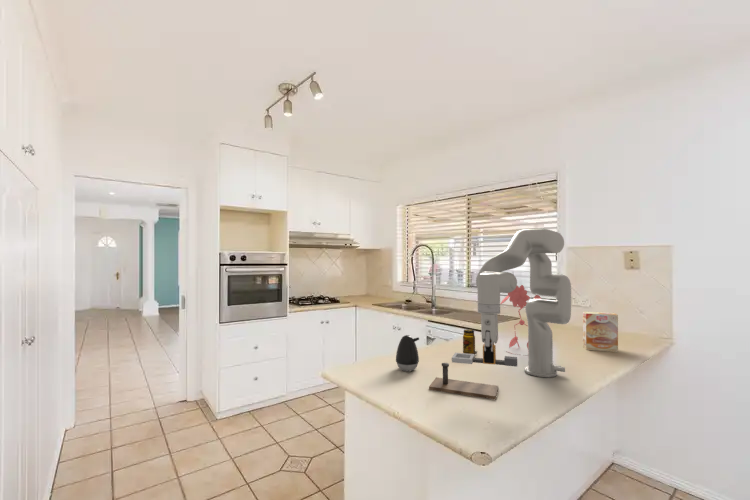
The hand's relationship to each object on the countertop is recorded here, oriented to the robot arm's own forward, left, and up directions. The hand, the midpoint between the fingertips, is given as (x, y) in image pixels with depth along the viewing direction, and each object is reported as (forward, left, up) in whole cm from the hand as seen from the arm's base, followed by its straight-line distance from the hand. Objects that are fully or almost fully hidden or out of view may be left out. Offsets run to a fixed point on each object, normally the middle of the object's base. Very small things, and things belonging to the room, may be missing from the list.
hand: (489, 360), depth 126 cm
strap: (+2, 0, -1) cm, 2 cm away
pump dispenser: (+37, -21, -14) cm, 45 cm away
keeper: (+10, -7, -14) cm, 19 cm away
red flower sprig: (-7, -73, -14) cm, 75 cm away
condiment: (+16, -59, -14) cm, 63 cm away
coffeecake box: (-47, -93, -14) cm, 105 cm away
